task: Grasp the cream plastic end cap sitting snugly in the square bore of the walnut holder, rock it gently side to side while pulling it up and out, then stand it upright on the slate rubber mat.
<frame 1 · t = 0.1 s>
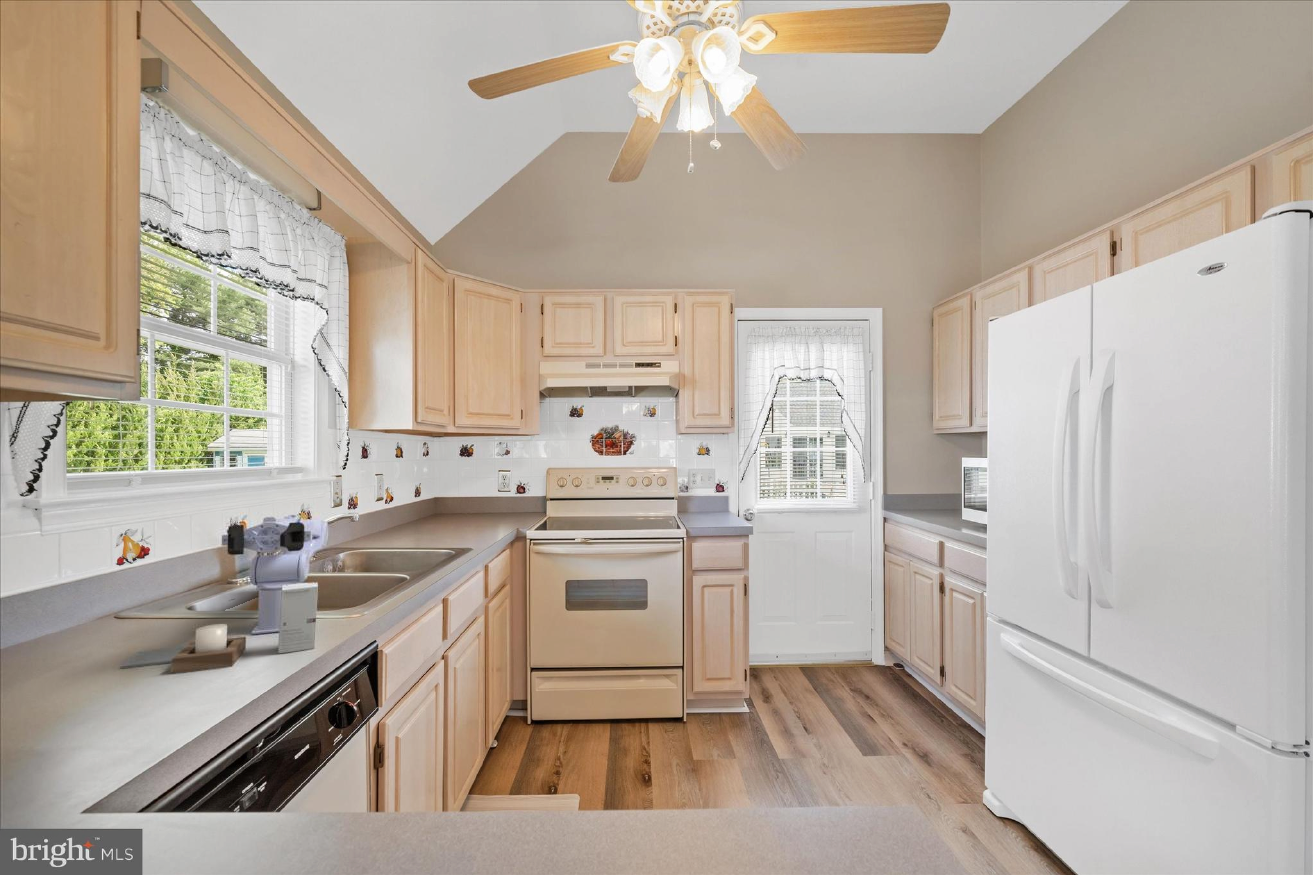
hand: (257, 541, 100), 22 cm above the countertop, tool horizontal, fingers open, 7 cm apart
slate mat: (155, 658, 99), on the countertop
walnut holder: (210, 660, 98), on the countertop
end cap: (210, 661, 98), resting in walnut holder
skincare box: (297, 648, 105), on the countertop
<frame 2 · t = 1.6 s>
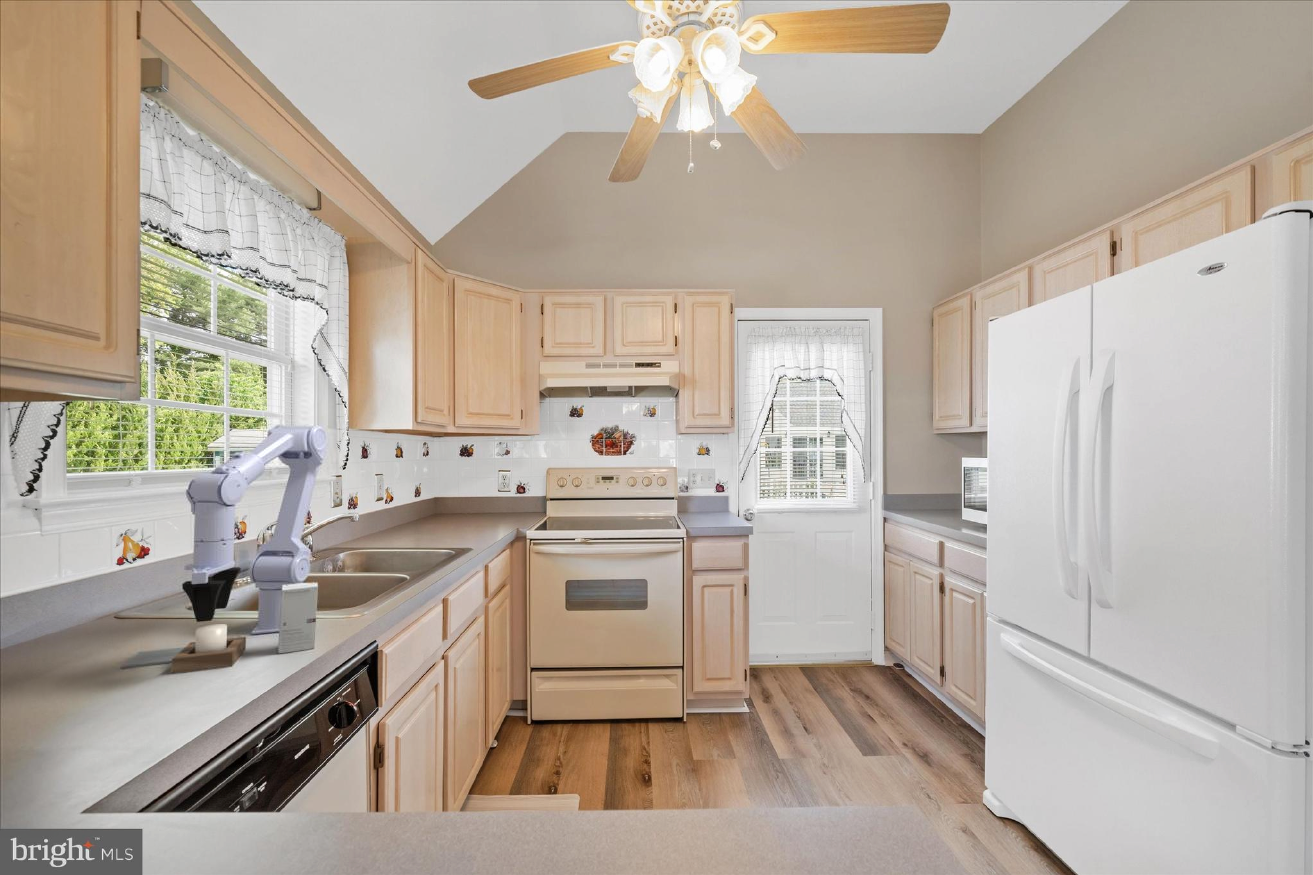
hand: (212, 614, 98), 8 cm above the countertop, tool pointing down, fingers open, 7 cm apart
nothing on the countertop moved.
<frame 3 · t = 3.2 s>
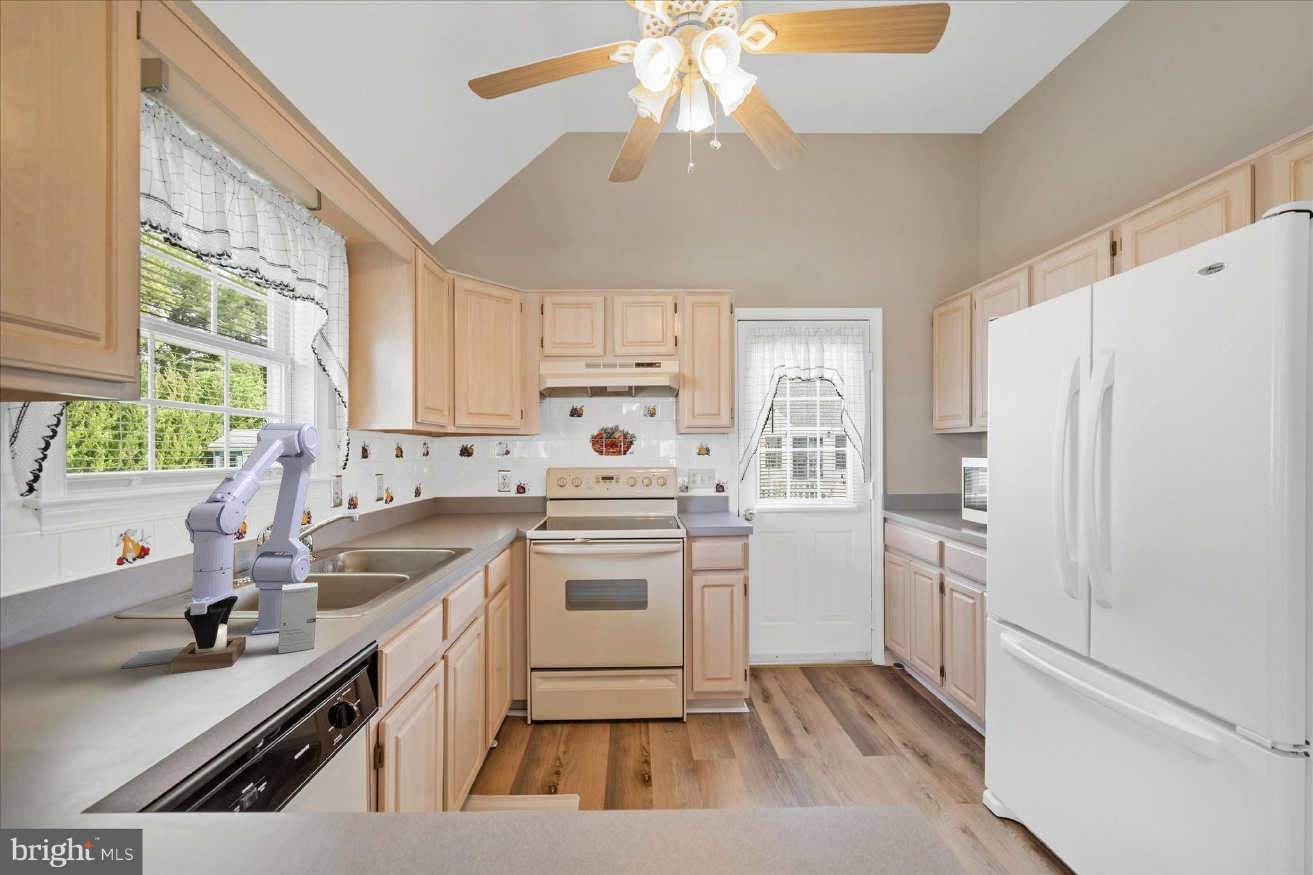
hand: (211, 643, 98), 3 cm above the countertop, tool pointing down, fingers closed on end cap, 4 cm apart
end cap: (210, 661, 98), resting in walnut holder, touching gripper
everything else where it was.
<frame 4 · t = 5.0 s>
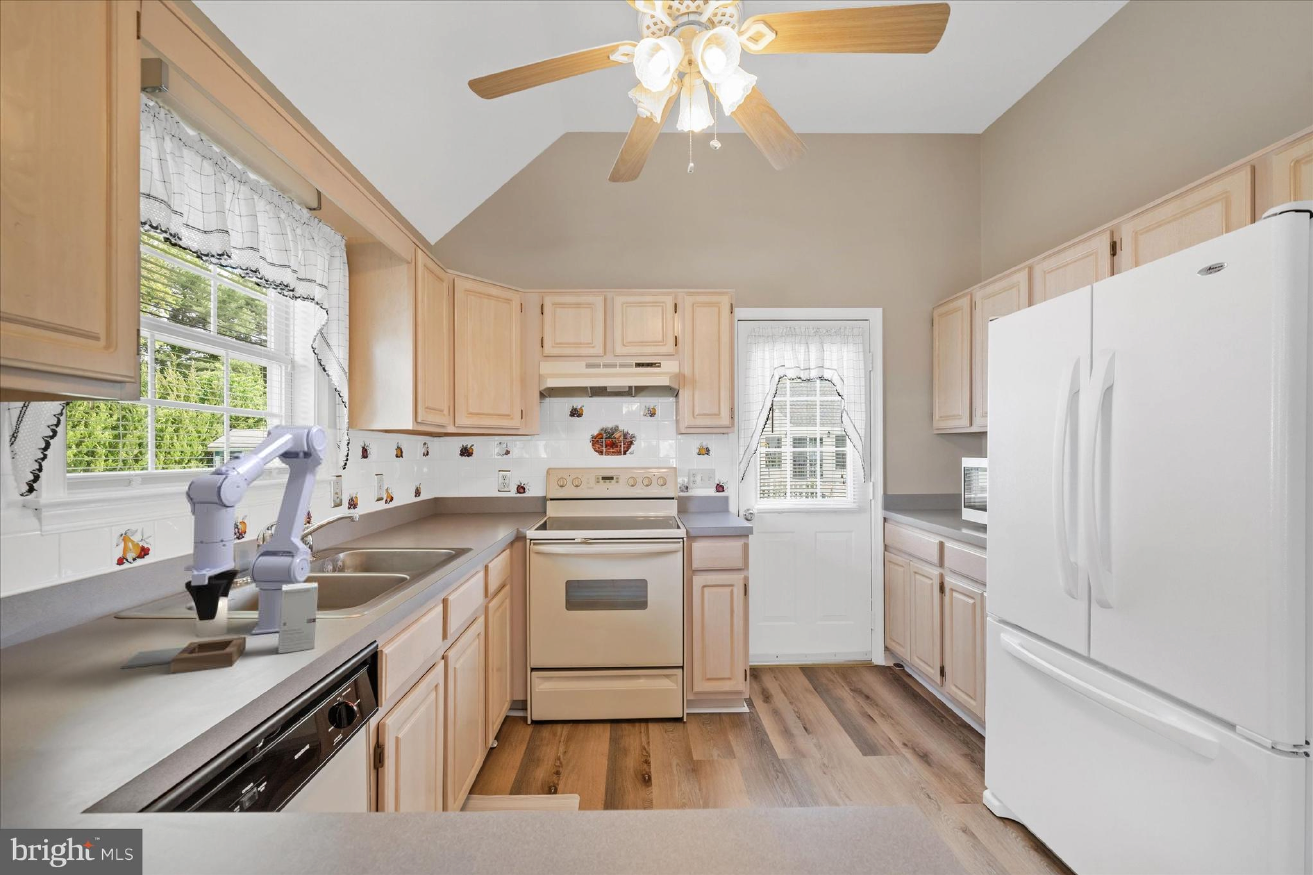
hand: (212, 615, 98), 8 cm above the countertop, tool pointing down, fingers closed on end cap, 4 cm apart
end cap: (211, 633, 98), point 5 cm above the countertop, touching gripper
everything else where it was.
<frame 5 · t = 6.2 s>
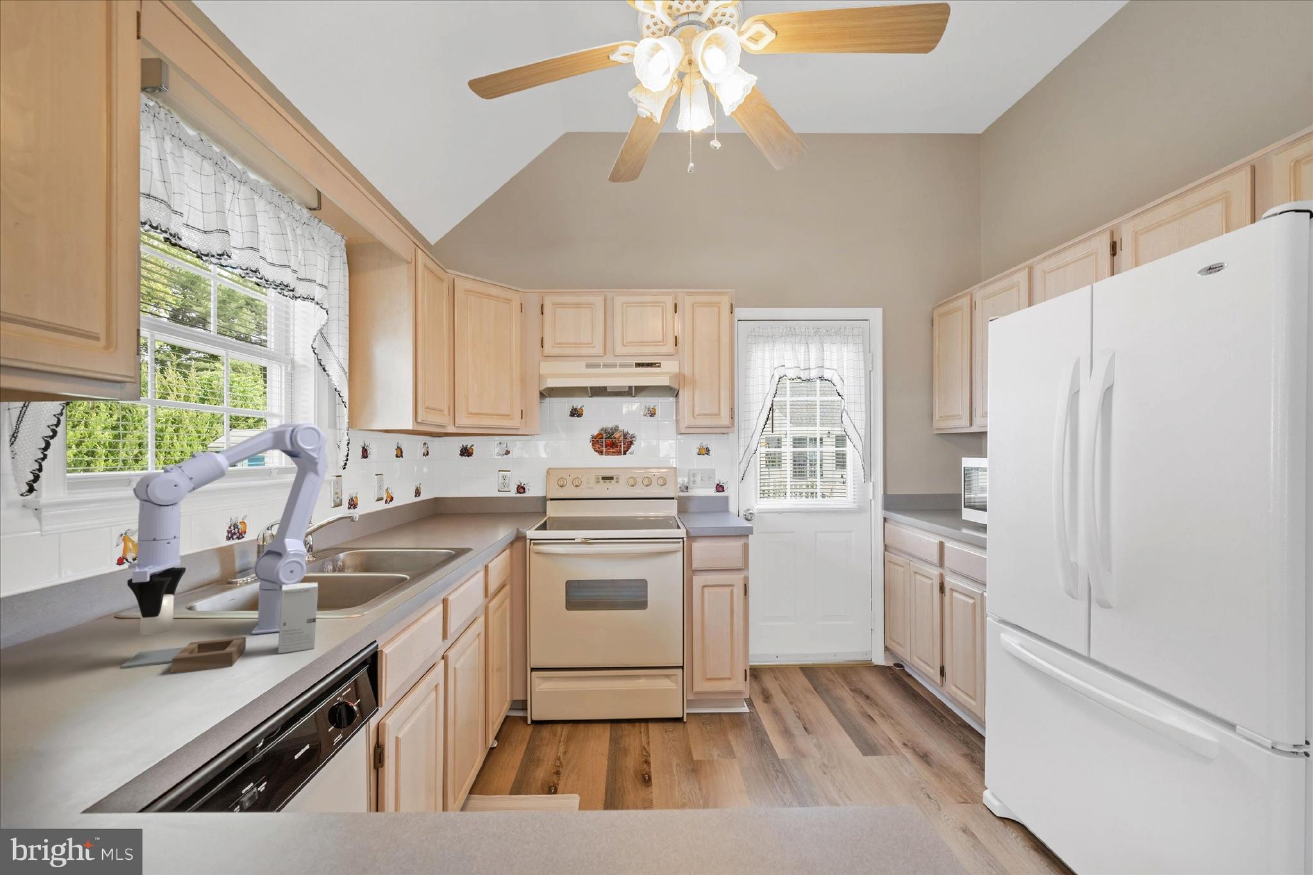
hand: (156, 612, 99), 8 cm above the countertop, tool pointing down, fingers closed on end cap, 4 cm apart
end cap: (156, 630, 99), point 5 cm above the countertop, touching gripper
everything else where it was.
when the fingers open (5 cm above the countertop, at t = 7.2 s): end cap drops 1 cm, resting on slate mat.
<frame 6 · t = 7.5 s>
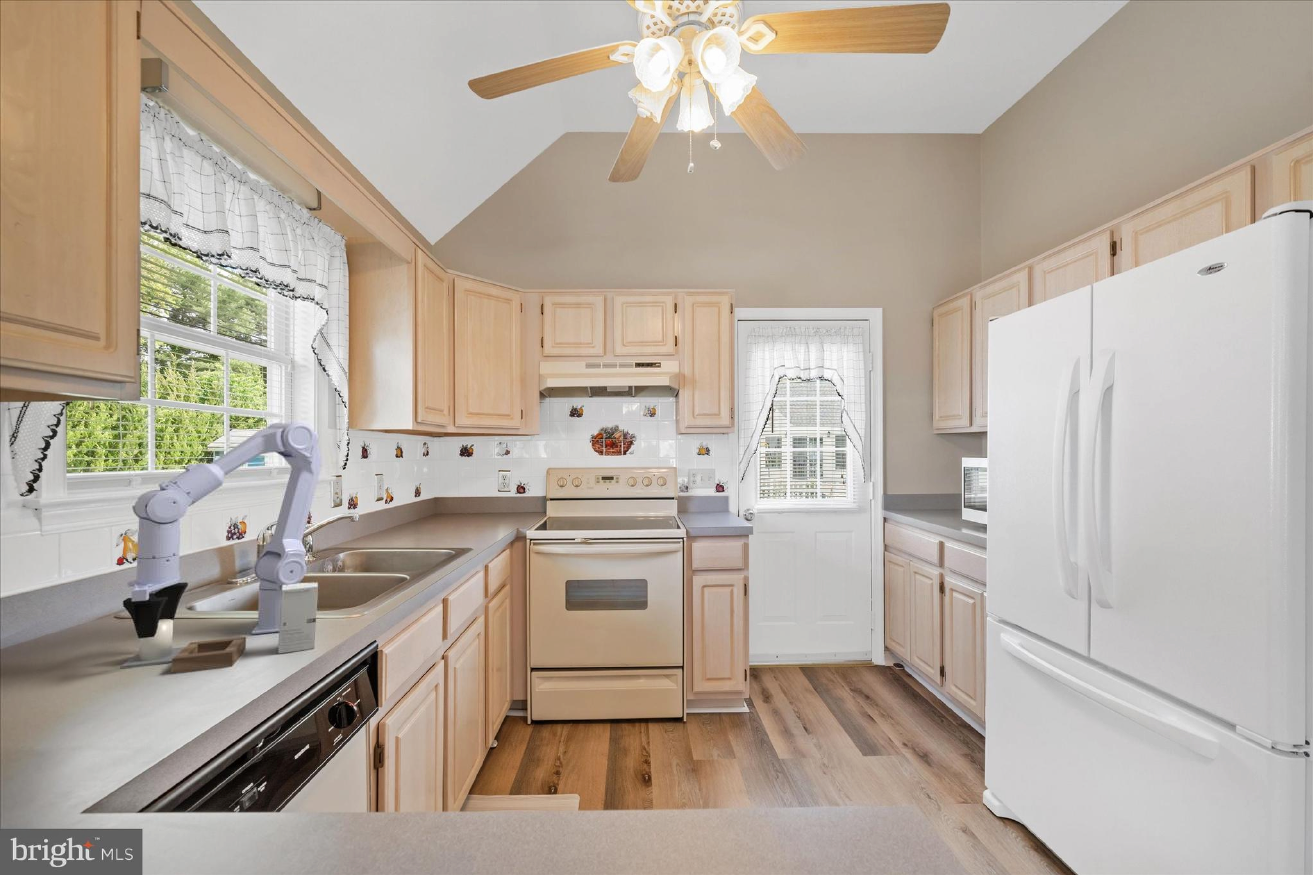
hand: (156, 630, 99), 5 cm above the countertop, tool pointing down, fingers open, 7 cm apart
end cap: (155, 655, 99), resting on slate mat
everything else where it was.
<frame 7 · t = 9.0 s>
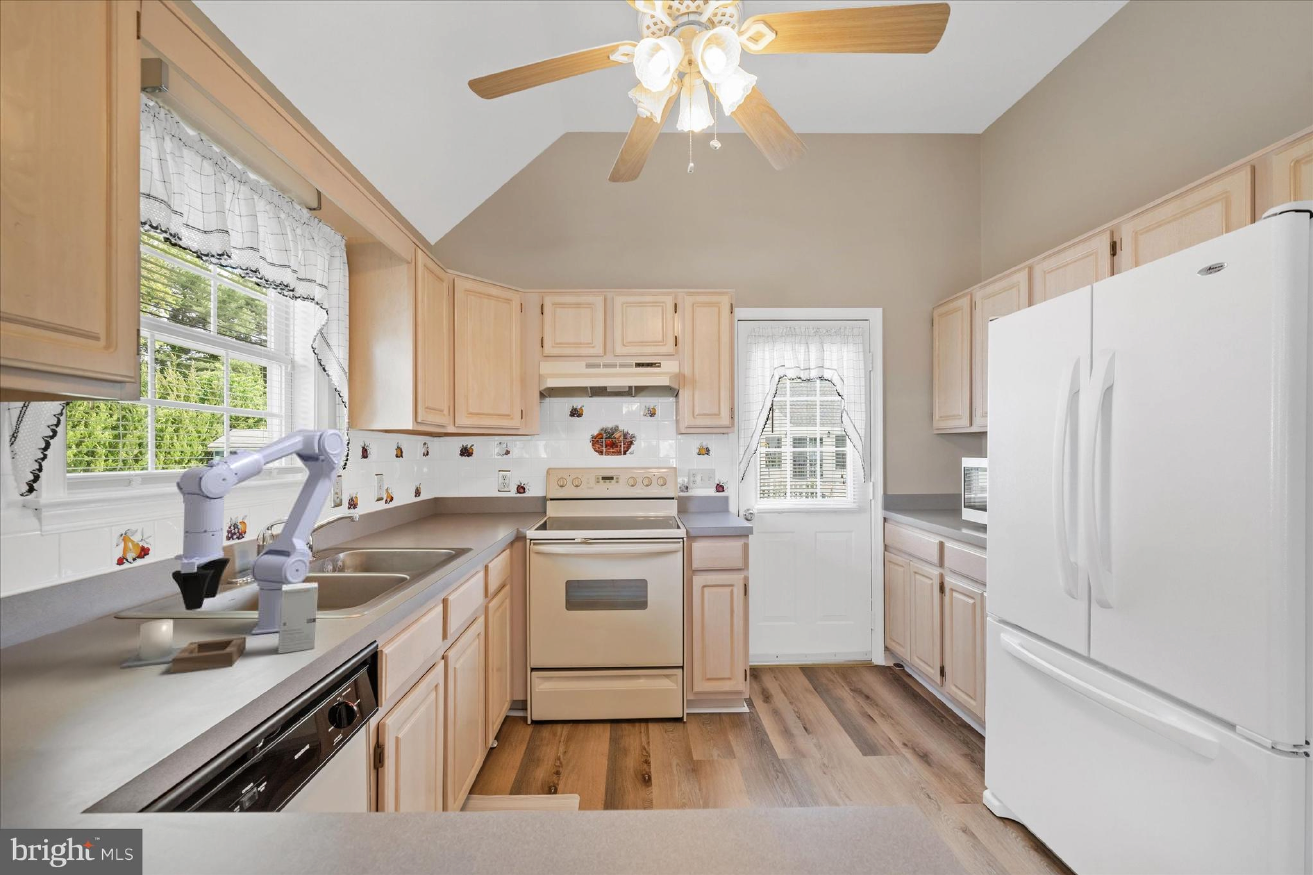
hand: (201, 603, 102), 9 cm above the countertop, tool pointing down, fingers open, 7 cm apart
nothing on the countertop moved.
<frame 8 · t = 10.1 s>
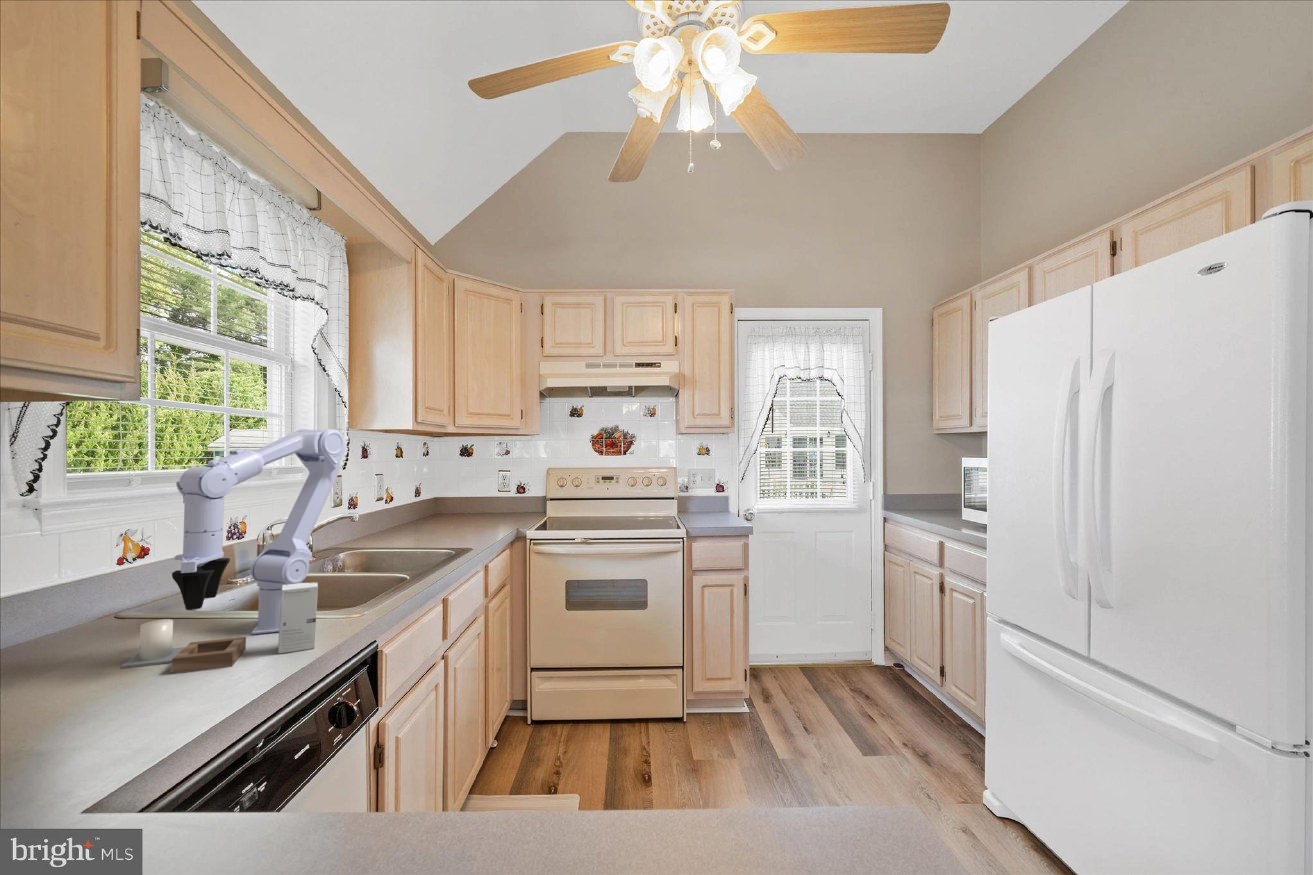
hand: (201, 603, 102), 9 cm above the countertop, tool pointing down, fingers open, 7 cm apart
nothing on the countertop moved.
at the end: end cap inside the target area on the slate mat (0.1 cm from its centre), point 0.4 cm above the slate mat's base; end cap tilted 0°; the gripper is holding nothing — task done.
